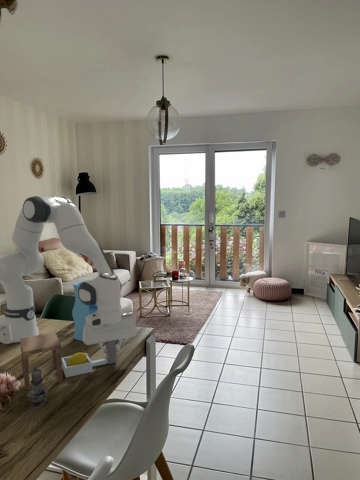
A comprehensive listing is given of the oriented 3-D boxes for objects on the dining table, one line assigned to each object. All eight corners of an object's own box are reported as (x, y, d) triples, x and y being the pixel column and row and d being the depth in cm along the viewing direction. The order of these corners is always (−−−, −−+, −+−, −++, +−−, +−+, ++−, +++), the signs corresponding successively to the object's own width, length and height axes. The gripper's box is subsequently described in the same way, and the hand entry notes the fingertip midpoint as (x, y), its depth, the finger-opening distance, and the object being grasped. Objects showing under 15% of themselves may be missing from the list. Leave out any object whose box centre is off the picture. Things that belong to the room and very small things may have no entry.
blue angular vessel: (89, 342, 159) (86, 286, 156) (73, 338, 164) (70, 284, 161) (104, 335, 167) (102, 282, 164) (89, 331, 172) (87, 279, 169)
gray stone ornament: (31, 398, 115) (29, 362, 114) (50, 397, 116) (48, 361, 114) (25, 409, 109) (22, 371, 108) (45, 408, 110) (43, 370, 108)
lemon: (64, 367, 129) (84, 353, 131) (62, 359, 133) (81, 345, 136) (72, 377, 131) (92, 363, 133) (70, 369, 136) (88, 356, 138)
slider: (65, 377, 128) (64, 353, 127) (61, 366, 136) (60, 343, 135) (118, 365, 136) (117, 342, 135) (111, 356, 144) (111, 334, 143)
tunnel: (25, 390, 120) (22, 352, 119) (22, 373, 132) (20, 338, 130) (62, 381, 125) (60, 345, 124) (57, 366, 137) (55, 332, 136)
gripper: (133, 309, 145) (134, 343, 147) (81, 317, 136) (82, 353, 137) (138, 314, 139) (139, 348, 141) (84, 322, 130) (86, 359, 132)
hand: (111, 351), depth 139 cm, fingers open, 4 cm apart
